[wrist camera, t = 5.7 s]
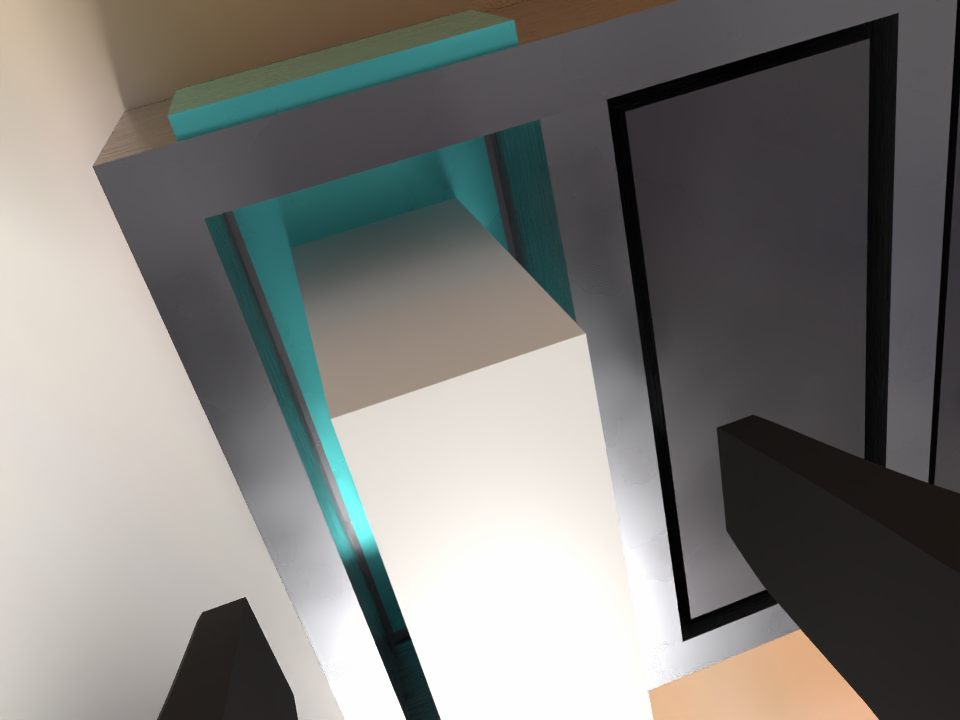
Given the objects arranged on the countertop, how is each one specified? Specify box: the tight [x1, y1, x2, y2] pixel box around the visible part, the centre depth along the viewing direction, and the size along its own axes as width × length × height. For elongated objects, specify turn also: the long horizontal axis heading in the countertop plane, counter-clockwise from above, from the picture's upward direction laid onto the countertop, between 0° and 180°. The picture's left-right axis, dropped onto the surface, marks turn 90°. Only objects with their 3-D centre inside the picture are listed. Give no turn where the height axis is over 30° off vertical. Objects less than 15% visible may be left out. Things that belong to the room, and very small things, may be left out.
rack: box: [93, 0, 960, 720], centre depth 16 cm, size 18×13×4 cm
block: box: [290, 198, 653, 720], centre depth 14 cm, size 3×8×6 cm, turn 12°
